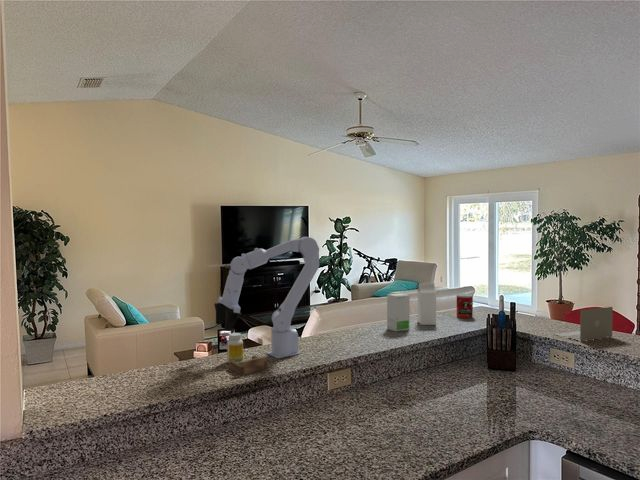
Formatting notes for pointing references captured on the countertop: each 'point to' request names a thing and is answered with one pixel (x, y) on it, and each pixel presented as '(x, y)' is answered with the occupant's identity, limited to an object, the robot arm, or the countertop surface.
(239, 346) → the supplement bottle
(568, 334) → the laptop
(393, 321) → the skincare box
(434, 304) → the milk carton
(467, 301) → the canned food
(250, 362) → the wooden holder
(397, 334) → the countertop surface
